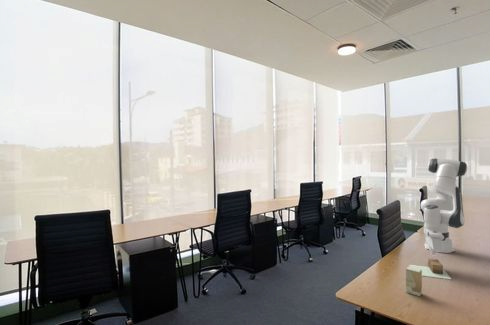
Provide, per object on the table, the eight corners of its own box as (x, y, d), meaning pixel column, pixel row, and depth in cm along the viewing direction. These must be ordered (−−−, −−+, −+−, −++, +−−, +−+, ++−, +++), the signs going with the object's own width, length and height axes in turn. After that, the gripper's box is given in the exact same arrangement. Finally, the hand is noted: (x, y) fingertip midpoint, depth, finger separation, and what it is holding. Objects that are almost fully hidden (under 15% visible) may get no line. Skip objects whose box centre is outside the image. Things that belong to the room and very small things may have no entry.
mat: (409, 265, 168) (409, 264, 168) (443, 269, 161) (443, 268, 161) (413, 274, 153) (413, 274, 153) (451, 279, 146) (451, 279, 146)
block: (427, 258, 164) (432, 264, 154) (437, 259, 162) (442, 265, 152) (428, 266, 164) (432, 273, 154) (437, 267, 162) (443, 274, 152)
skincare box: (405, 292, 133) (405, 268, 133) (408, 289, 136) (407, 266, 136) (420, 296, 128) (419, 271, 128) (422, 293, 131) (421, 269, 131)
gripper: (422, 227, 173) (423, 248, 173) (430, 235, 154) (431, 258, 154) (434, 228, 170) (434, 249, 170) (443, 236, 152) (444, 259, 151)
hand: (433, 253), depth 162 cm, fingers closed
